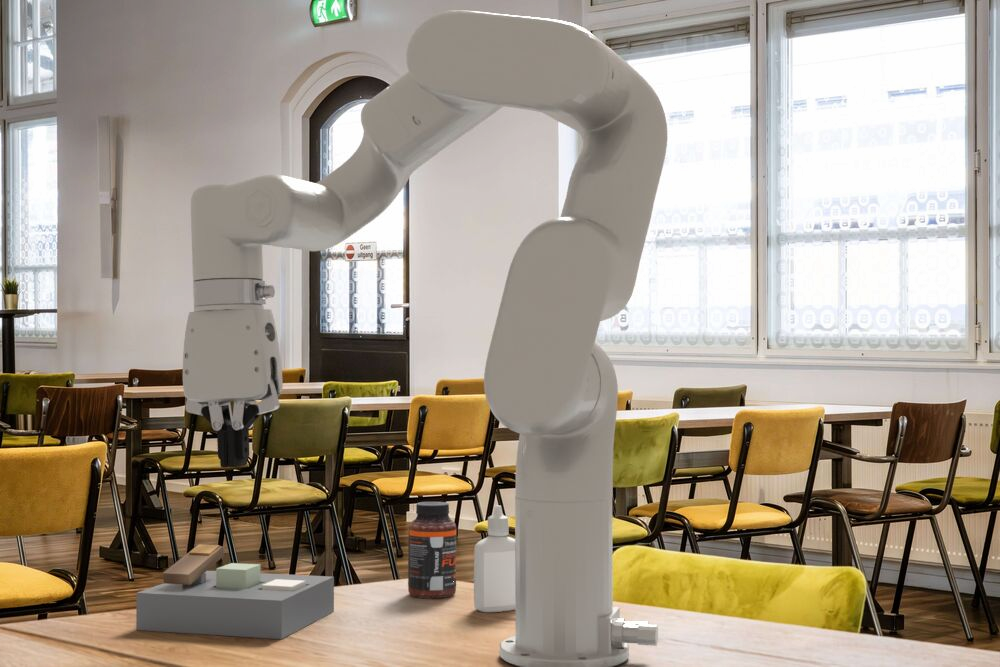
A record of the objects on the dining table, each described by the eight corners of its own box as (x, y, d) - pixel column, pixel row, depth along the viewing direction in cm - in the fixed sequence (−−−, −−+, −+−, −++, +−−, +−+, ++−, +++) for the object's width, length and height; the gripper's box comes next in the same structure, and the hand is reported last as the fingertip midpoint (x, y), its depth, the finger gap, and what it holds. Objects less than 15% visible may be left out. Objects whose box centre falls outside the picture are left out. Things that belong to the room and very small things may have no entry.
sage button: (260, 592, 137) (260, 564, 137) (245, 599, 133) (245, 570, 133) (231, 591, 138) (231, 563, 138) (216, 597, 134) (216, 568, 134)
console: (333, 611, 140) (333, 567, 140) (281, 639, 127) (281, 591, 127) (200, 604, 145) (200, 561, 145) (136, 630, 131) (136, 583, 131)
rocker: (223, 555, 141) (222, 544, 140) (190, 584, 133) (188, 572, 133) (198, 554, 141) (197, 543, 141) (163, 583, 134) (162, 571, 134)
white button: (305, 609, 135) (305, 580, 136) (292, 616, 132) (292, 586, 132) (276, 607, 136) (276, 579, 136) (261, 614, 133) (261, 585, 133)
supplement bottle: (449, 600, 146) (449, 506, 146) (402, 599, 147) (402, 505, 148) (461, 591, 152) (461, 500, 152) (415, 589, 153) (415, 499, 153)
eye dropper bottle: (522, 613, 139) (522, 507, 139) (473, 613, 139) (473, 508, 139) (522, 605, 144) (521, 503, 144) (474, 605, 144) (474, 503, 144)
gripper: (306, 296, 135) (311, 462, 134) (184, 303, 138) (189, 464, 138) (277, 293, 127) (282, 468, 127) (149, 300, 131) (154, 470, 131)
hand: (234, 466), depth 132 cm, fingers closed
